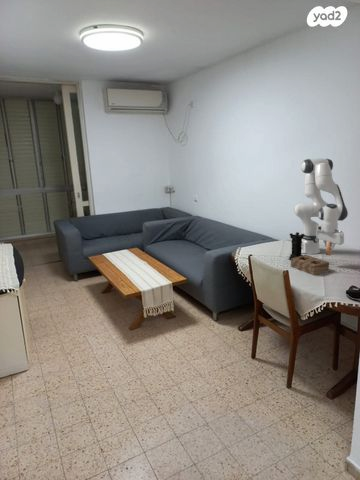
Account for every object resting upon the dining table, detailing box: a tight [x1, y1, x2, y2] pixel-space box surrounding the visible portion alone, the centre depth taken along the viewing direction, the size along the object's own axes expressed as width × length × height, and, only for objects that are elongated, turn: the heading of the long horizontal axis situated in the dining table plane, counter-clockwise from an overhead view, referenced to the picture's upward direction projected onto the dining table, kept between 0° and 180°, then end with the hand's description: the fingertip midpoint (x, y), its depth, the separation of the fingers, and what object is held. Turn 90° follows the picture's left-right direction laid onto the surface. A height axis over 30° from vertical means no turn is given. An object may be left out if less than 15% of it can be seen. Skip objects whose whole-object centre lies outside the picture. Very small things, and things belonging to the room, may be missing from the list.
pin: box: [325, 241, 333, 256], centre depth 226 cm, size 4×4×10 cm
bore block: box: [290, 254, 330, 276], centre depth 226 cm, size 20×14×6 cm
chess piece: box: [287, 231, 304, 261], centre depth 242 cm, size 8×8×20 cm
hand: (329, 247), depth 226 cm, fingers closed on pin, 3 cm apart
